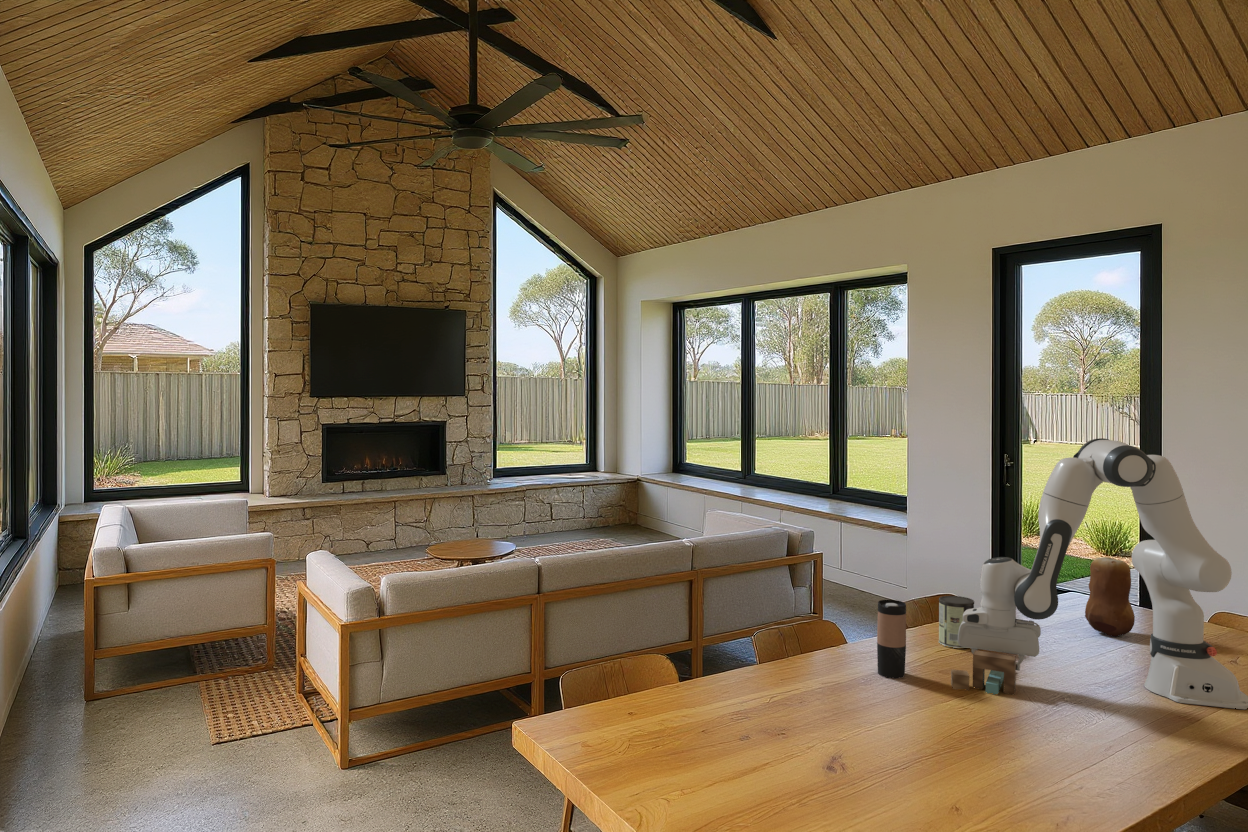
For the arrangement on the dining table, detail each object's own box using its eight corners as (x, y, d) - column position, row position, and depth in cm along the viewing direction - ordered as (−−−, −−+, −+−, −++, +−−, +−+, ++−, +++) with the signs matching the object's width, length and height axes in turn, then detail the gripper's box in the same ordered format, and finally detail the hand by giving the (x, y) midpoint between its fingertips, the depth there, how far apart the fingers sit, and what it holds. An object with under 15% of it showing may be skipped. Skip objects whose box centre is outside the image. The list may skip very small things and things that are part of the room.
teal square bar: (1006, 671, 229) (1006, 660, 229) (998, 696, 210) (998, 684, 210) (994, 669, 231) (995, 659, 230) (985, 694, 212) (985, 682, 212)
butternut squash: (1134, 632, 265) (1135, 557, 264) (1134, 643, 254) (1135, 564, 253) (1085, 626, 273) (1086, 552, 272) (1083, 636, 261) (1085, 559, 260)
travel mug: (901, 669, 229) (902, 599, 228) (908, 679, 221) (909, 607, 221) (874, 668, 230) (875, 599, 229) (880, 678, 222) (880, 606, 221)
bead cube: (966, 685, 217) (967, 670, 217) (969, 690, 213) (969, 675, 213) (950, 684, 218) (951, 669, 218) (953, 689, 214) (953, 674, 214)
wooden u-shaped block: (1015, 689, 214) (1015, 656, 213) (1014, 694, 210) (1014, 660, 210) (974, 683, 219) (974, 650, 218) (972, 687, 215) (973, 654, 215)
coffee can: (965, 639, 258) (966, 595, 257) (979, 649, 247) (980, 603, 247) (933, 639, 258) (933, 595, 257) (945, 649, 248) (946, 603, 247)
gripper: (1041, 618, 218) (1041, 669, 218) (959, 609, 228) (959, 657, 229) (1040, 624, 212) (1039, 676, 213) (956, 614, 223) (956, 664, 223)
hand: (997, 667), depth 221 cm, fingers open, 8 cm apart
